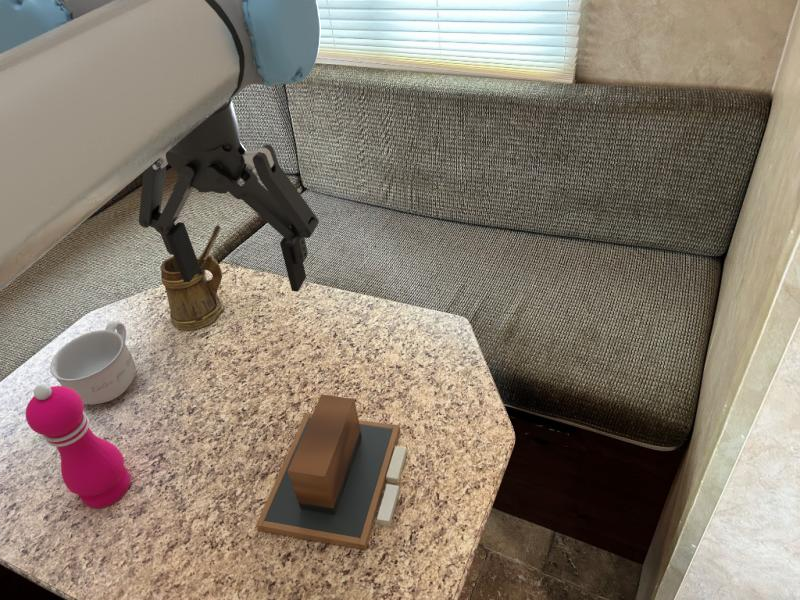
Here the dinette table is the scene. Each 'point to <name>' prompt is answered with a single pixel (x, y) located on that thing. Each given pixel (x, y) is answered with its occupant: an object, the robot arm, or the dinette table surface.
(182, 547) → the dinette table surface
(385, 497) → the white rectangular bar
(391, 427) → the chalkboard
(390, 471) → the white chalk stick
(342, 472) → the eraser
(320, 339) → the dinette table surface
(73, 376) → the teacup
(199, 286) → the wooden mug
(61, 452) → the pepper mill
